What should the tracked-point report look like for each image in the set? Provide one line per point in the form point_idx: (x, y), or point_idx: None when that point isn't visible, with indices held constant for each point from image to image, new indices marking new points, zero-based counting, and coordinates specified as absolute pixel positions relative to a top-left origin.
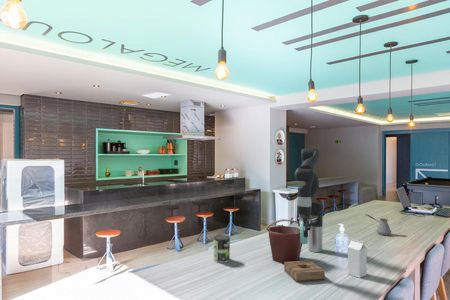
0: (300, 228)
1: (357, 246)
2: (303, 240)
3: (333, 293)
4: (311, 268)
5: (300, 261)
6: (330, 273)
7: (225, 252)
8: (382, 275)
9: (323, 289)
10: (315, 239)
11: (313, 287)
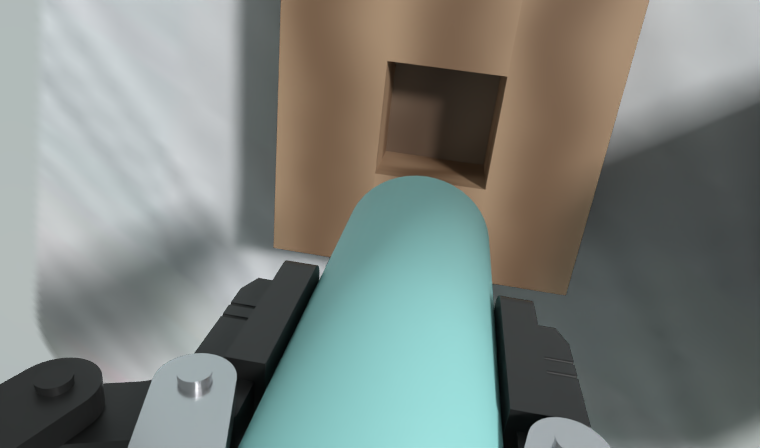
0: (411, 366)
1: None
2: (349, 224)
3: (70, 123)
4: (356, 167)
5: (585, 179)
6: None
7: None
8: None
9: (140, 93)
10: None
11: (185, 34)
